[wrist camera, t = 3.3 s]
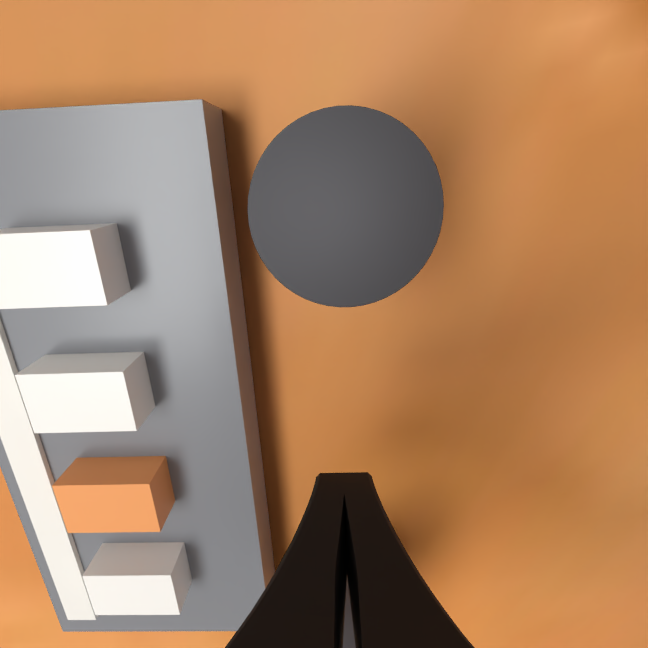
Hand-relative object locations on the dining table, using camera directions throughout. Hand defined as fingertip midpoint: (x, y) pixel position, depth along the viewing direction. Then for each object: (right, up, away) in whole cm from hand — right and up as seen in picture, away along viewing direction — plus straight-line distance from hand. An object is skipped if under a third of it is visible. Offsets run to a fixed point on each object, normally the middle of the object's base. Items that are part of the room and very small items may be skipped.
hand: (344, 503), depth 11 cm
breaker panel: (-8, +2, +5) cm, 9 cm away
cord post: (0, +9, +3) cm, 9 cm away
